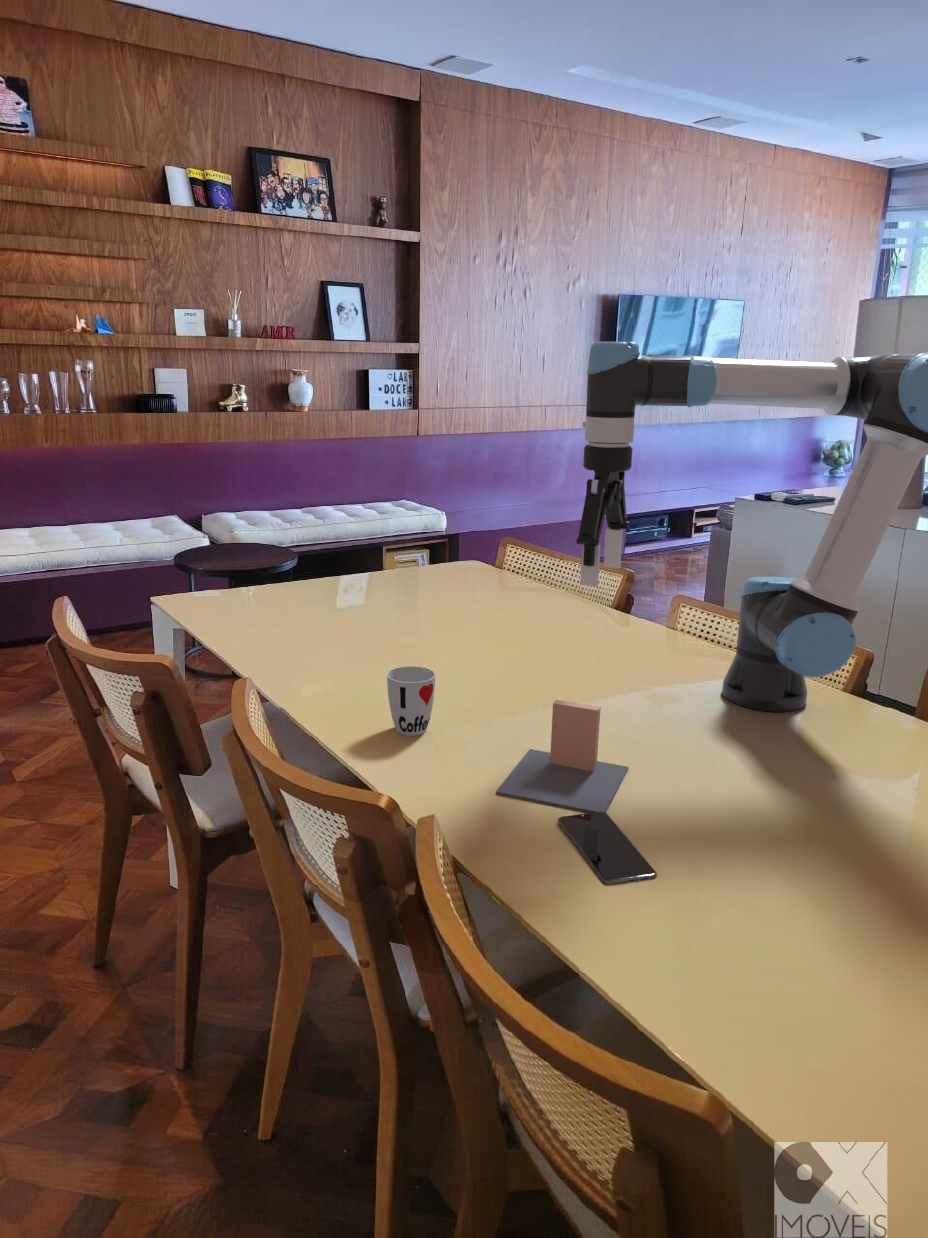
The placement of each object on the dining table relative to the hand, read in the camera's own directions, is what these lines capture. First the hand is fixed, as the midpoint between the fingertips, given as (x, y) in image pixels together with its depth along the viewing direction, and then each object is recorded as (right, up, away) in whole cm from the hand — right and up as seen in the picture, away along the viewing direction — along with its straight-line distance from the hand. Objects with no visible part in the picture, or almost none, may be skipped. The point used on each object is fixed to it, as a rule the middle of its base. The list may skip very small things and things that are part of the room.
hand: (600, 576), depth 149 cm
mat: (-7, -31, -12) cm, 34 cm away
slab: (-5, -30, -8) cm, 31 cm away
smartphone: (-4, -37, -30) cm, 48 cm away
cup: (-31, -26, +5) cm, 41 cm away
